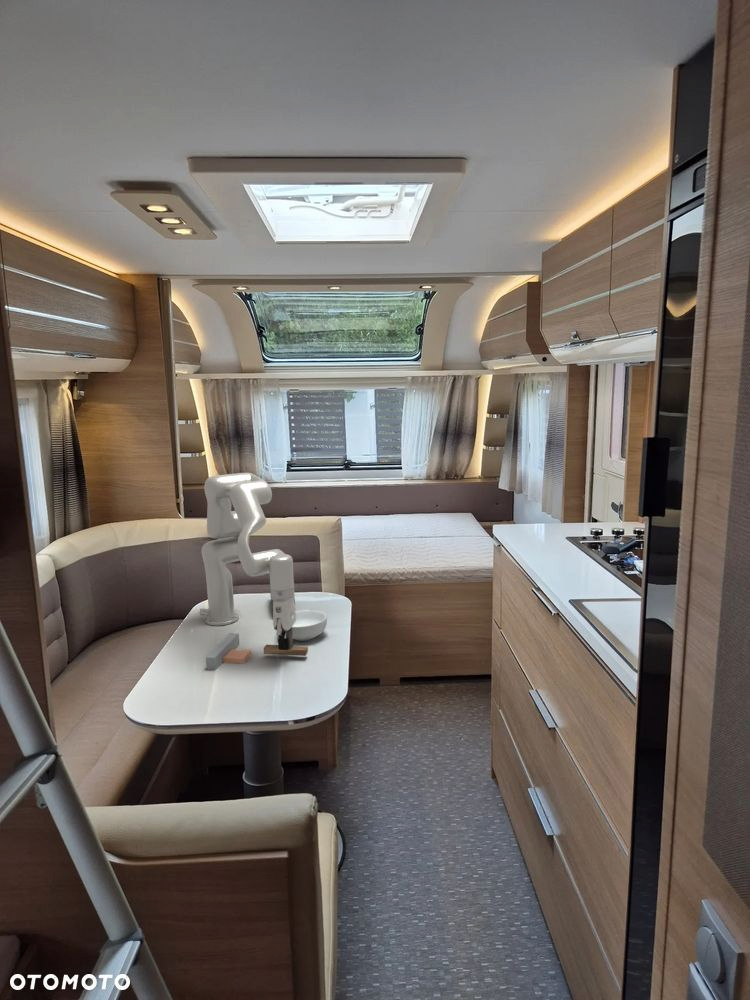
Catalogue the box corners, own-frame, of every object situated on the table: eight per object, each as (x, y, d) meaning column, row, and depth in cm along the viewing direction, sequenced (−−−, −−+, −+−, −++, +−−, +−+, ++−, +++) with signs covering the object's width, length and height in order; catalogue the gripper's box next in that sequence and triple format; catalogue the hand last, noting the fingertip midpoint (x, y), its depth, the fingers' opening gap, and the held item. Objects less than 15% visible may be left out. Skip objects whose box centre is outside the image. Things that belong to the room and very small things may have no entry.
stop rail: (206, 669, 189) (205, 657, 189) (231, 644, 209) (230, 633, 208) (215, 669, 189) (214, 657, 188) (239, 644, 208) (238, 633, 208)
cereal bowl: (304, 624, 226) (303, 606, 224) (337, 634, 215) (336, 615, 214) (270, 638, 213) (268, 619, 212) (302, 650, 202) (301, 630, 201)
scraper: (305, 655, 194) (304, 632, 192) (263, 653, 196) (262, 630, 195) (307, 652, 197) (307, 628, 195) (266, 650, 199) (265, 627, 198)
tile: (223, 663, 194) (222, 657, 194) (232, 654, 201) (231, 649, 201) (243, 664, 193) (243, 658, 193) (252, 655, 200) (251, 650, 199)
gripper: (286, 601, 184) (289, 658, 187) (300, 585, 200) (303, 637, 203) (262, 601, 186) (266, 657, 189) (279, 584, 202) (281, 637, 205)
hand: (285, 646), depth 196 cm, fingers closed on scraper, 3 cm apart
